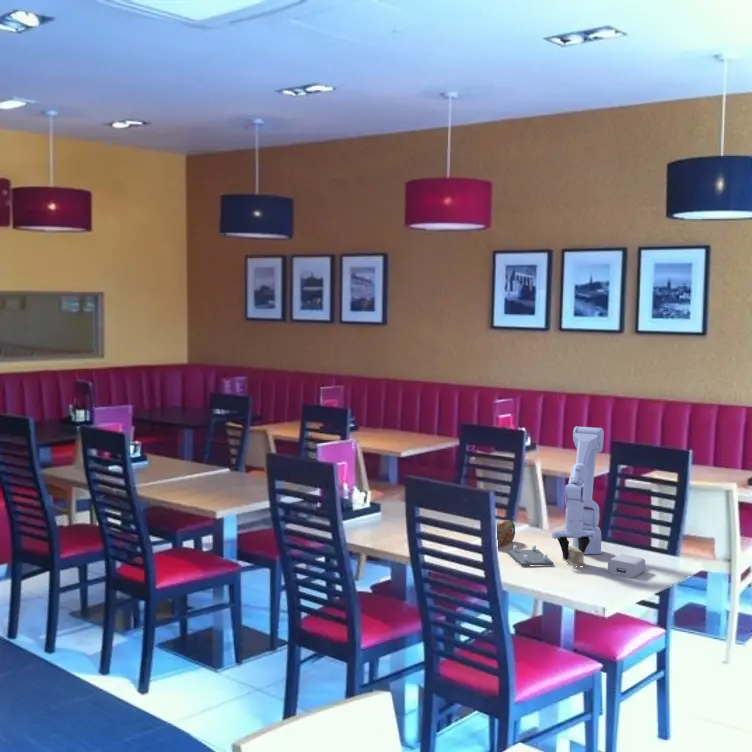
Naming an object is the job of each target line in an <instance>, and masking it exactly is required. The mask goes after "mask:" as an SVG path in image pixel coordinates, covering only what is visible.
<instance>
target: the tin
mask: <svg viewBox="0 0 752 752" xmlns="http://www.w3.org/2000/svg"><path fill="white" fill-rule="evenodd" d="M496 523H497V540H498V547H497V548H502V547H505V546H506V545H507V546H508V545H509V544H511V543H512V542H513V540H514V539H515V534H516V527H515V523H514V521H513V520H511V519H508V520H507V519H503V520H501V521H498V522H496Z"/></svg>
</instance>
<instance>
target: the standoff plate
mask: <svg viewBox="0 0 752 752" xmlns="http://www.w3.org/2000/svg"><path fill="white" fill-rule="evenodd" d="M506 553H507V554H509V555H510V556H509V555H508V556H509V557H511V558H512V559H513V560H514V561H515V560H516V561H517V562H518V563H519V564H520V565H521V566H530V565H553V566H554V561H552V560H551V559H550V558H549V557H548V554H545V553H543V552H542V551H541V550H540V549H538V548H537V545H535V544H533V545H532V548H531V549H518V545H513V549H507V552H506ZM516 561H515V562H516ZM517 562H516V563H517ZM518 563H517V564H518ZM519 564H518V565H519ZM520 565H519V566H520ZM521 566H520V567H521Z"/></svg>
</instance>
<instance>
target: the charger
mask: <svg viewBox="0 0 752 752" xmlns="http://www.w3.org/2000/svg"><path fill="white" fill-rule="evenodd" d="M645 571H646V559H645V558H642V557H641V556H634V555H630V554H623V553H619V554H618V555H615V556H614V557H611V558H610V559H608V560H607V572H608V573H609V572H610V573H609V574H612V573H614V574H613V575H617V574H618V575H619V576H622V575H623V577H627V578H635V577H637V576H639V575H640V574H643V572H645Z"/></svg>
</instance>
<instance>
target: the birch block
mask: <svg viewBox="0 0 752 752" xmlns="http://www.w3.org/2000/svg"><path fill="white" fill-rule="evenodd" d="M561 557H562V559H563V560H564V561H566V562H567V563H568V564H569V565H570V566H573V567H576V566H577V567H580V566H583V567H584V564H585V563H584V559H585V554H584V553H583V552H582V551H580V550H579V549H578V548H576V547H575V546H573V545H569V546H568V559H567V560H565V559H564V558H563V554H562V555H561ZM562 559H561V560H562ZM563 560H562V561H563ZM564 561H563V562H564ZM568 564H567V565H568ZM569 565H568V566H569ZM570 566H569V567H570Z"/></svg>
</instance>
